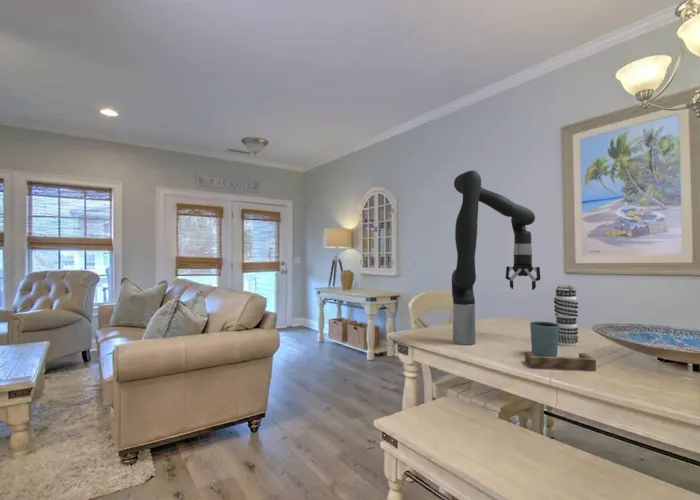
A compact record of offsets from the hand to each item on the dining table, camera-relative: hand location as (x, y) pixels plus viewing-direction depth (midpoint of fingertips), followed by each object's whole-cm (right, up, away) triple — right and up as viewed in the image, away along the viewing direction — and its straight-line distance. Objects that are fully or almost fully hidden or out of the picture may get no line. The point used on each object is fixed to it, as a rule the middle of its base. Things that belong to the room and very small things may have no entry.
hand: (522, 289), depth 169 cm
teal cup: (-3, -23, -26) cm, 35 cm away
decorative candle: (+15, -23, -9) cm, 29 cm away
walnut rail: (-6, -22, -40) cm, 46 cm away
